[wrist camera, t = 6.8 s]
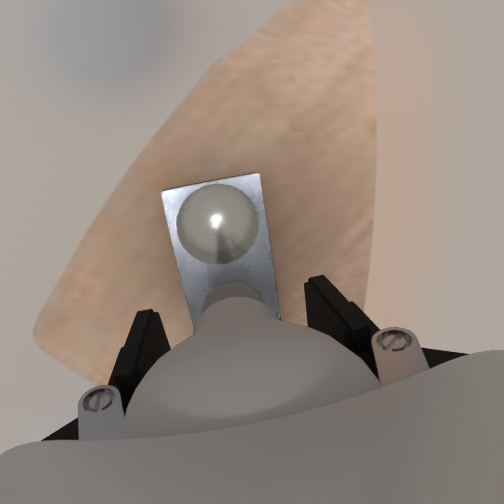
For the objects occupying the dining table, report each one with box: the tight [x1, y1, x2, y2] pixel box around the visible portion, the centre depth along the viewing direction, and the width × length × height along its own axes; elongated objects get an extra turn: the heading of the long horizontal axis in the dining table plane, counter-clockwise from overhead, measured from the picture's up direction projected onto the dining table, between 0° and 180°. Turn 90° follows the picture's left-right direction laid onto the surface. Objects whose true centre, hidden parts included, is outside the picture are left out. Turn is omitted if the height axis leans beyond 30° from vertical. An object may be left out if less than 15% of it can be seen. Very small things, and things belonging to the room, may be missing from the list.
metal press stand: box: [161, 172, 281, 328], centre depth 26 cm, size 17×9×12 cm, turn 9°
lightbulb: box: [122, 282, 382, 439], centre depth 9 cm, size 6×6×11 cm
